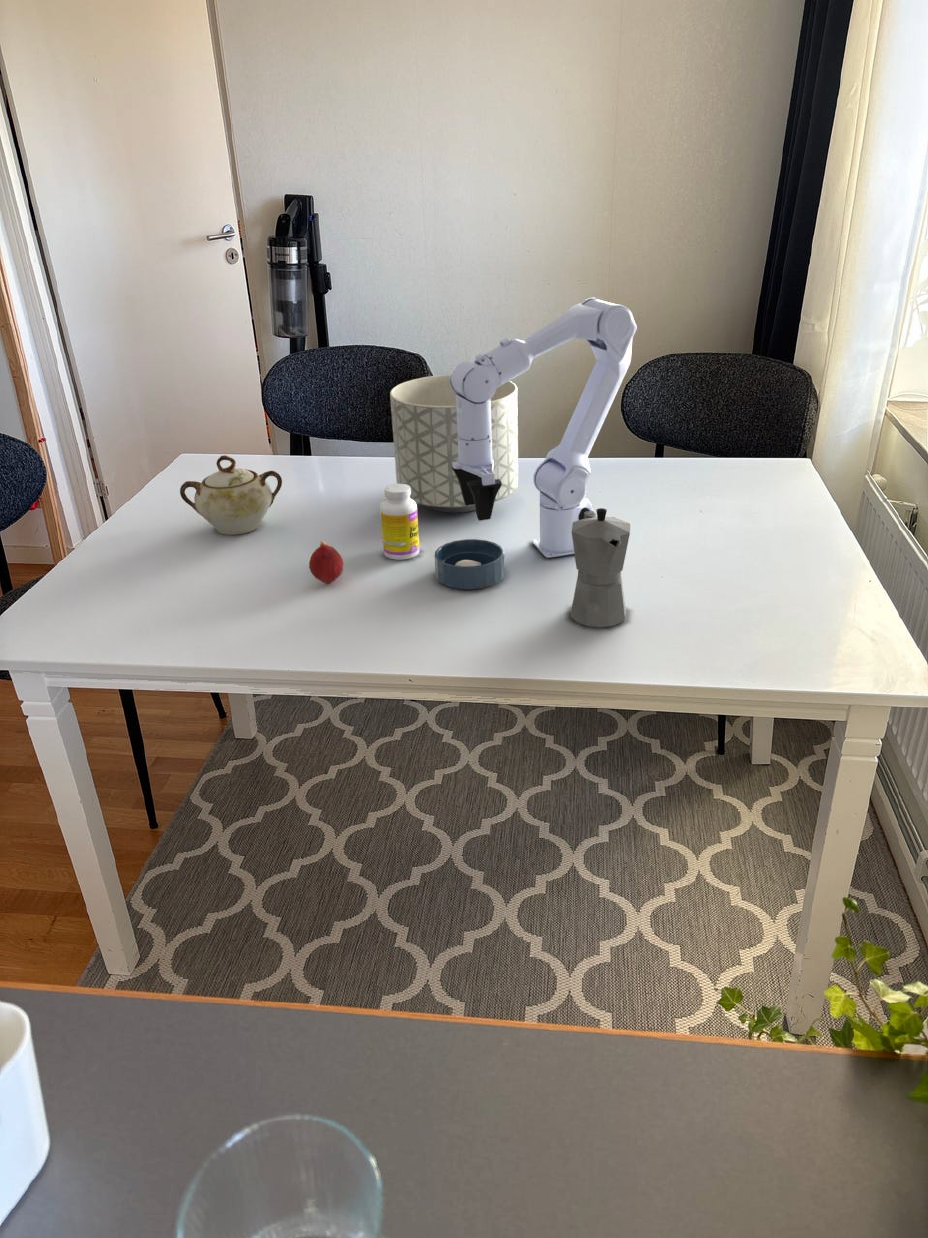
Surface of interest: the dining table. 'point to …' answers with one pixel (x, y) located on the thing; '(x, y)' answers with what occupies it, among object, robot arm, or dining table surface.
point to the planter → (447, 441)
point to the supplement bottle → (399, 523)
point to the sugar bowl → (232, 498)
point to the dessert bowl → (469, 575)
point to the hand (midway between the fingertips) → (477, 511)
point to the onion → (326, 563)
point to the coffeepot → (599, 568)
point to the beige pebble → (467, 563)
